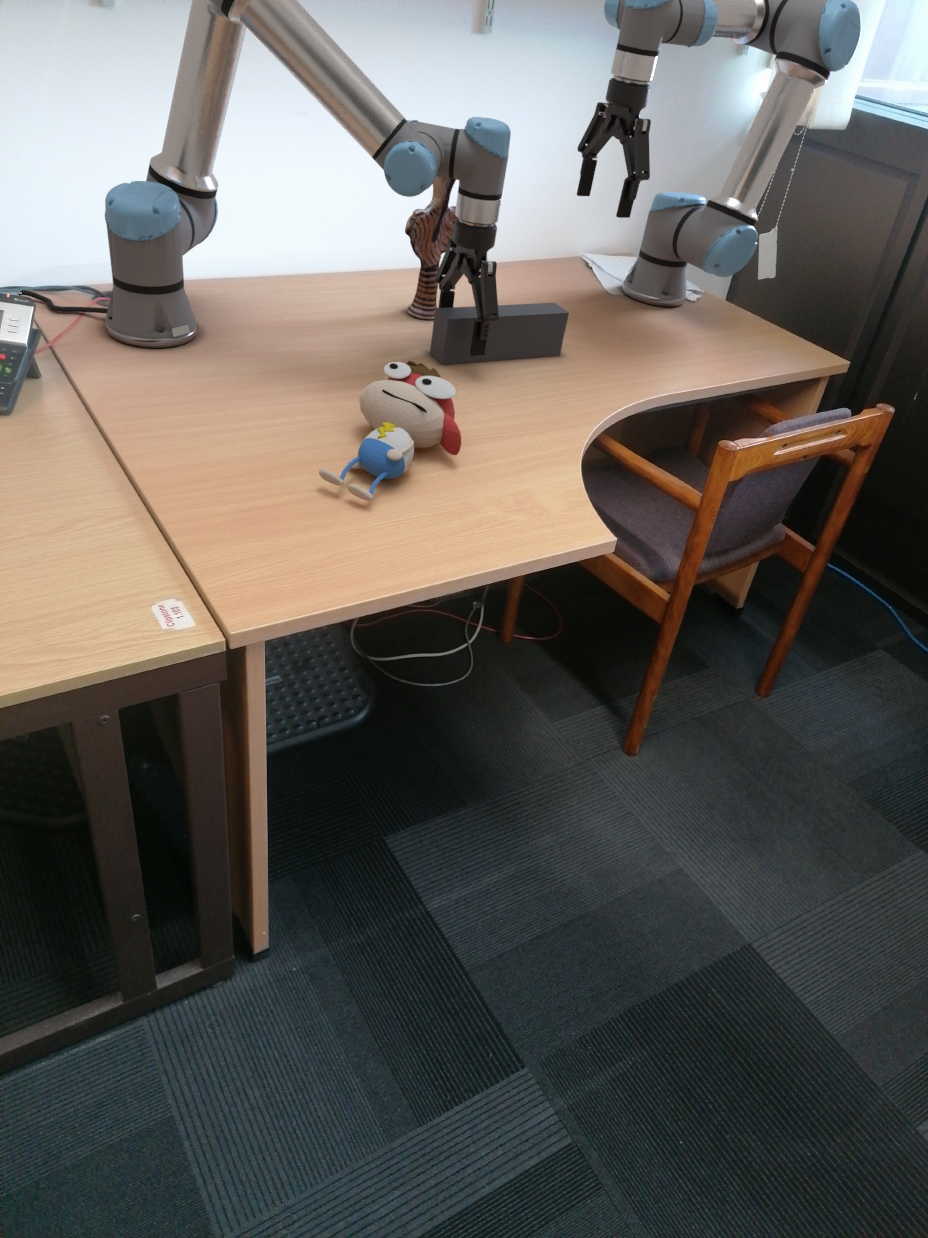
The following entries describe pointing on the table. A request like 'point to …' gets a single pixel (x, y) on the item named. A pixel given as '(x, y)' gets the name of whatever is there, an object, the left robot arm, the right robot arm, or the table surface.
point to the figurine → (430, 244)
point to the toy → (402, 423)
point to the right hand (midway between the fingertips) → (602, 206)
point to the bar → (499, 333)
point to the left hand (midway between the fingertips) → (459, 339)
